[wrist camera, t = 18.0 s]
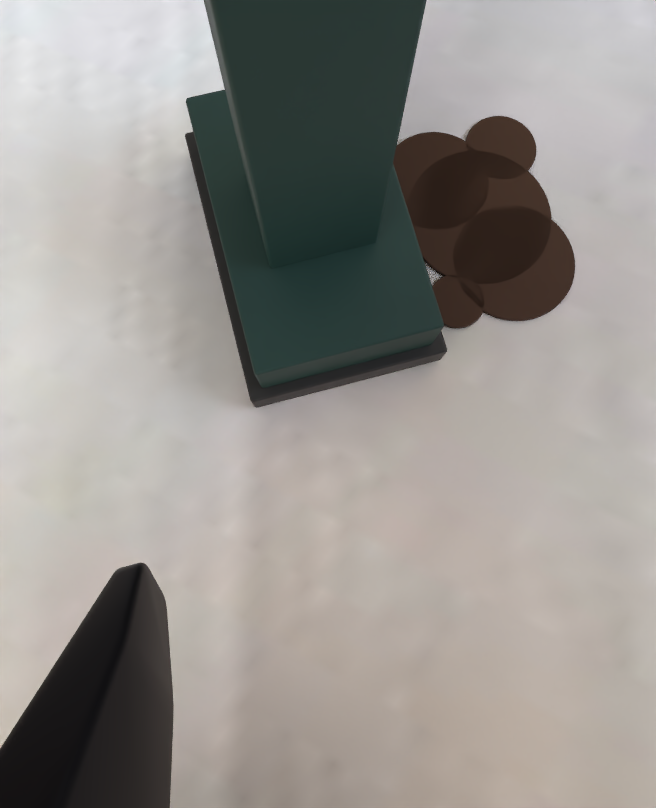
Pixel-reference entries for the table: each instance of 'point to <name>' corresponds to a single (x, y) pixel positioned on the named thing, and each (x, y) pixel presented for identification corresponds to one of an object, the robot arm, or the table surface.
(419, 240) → the coffee spill
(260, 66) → the wiper
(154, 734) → the robot arm
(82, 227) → the table surface
